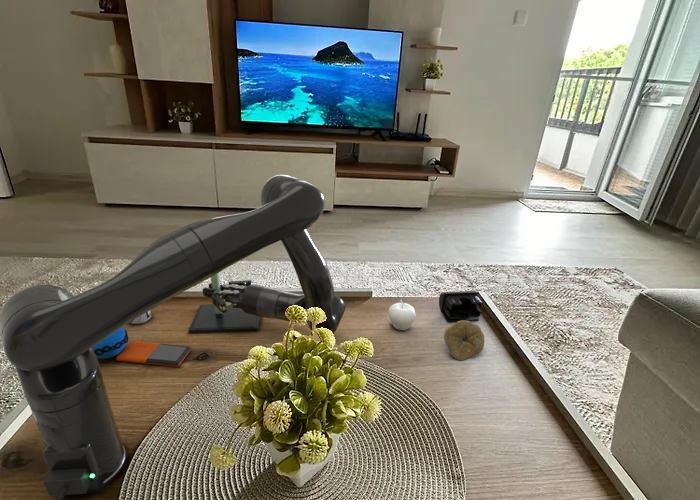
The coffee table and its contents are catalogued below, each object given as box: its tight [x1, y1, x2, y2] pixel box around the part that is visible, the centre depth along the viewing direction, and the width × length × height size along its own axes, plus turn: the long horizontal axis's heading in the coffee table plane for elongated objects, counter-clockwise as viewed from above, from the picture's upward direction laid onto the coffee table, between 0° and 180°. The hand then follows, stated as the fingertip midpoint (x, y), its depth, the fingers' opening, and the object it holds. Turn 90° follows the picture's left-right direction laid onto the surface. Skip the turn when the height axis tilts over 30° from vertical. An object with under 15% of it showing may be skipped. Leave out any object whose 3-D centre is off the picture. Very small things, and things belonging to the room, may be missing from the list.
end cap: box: [438, 290, 483, 324], centre depth 110 cm, size 10×7×7 cm
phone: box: [115, 340, 192, 368], centre depth 92 cm, size 6×1×15 cm
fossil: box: [443, 321, 486, 361], centre depth 97 cm, size 9×4×10 cm
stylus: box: [210, 272, 223, 318], centre depth 103 cm, size 2×2×13 cm
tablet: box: [188, 303, 261, 334], centre depth 106 cm, size 12×17×1 cm
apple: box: [388, 299, 417, 331], centre depth 104 cm, size 7×7×8 cm
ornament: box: [93, 326, 129, 360], centre depth 90 cm, size 9×9×10 cm
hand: (206, 289), depth 104 cm, fingers closed on stylus, 2 cm apart
